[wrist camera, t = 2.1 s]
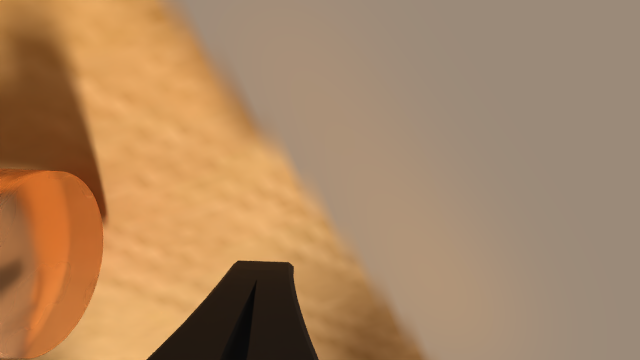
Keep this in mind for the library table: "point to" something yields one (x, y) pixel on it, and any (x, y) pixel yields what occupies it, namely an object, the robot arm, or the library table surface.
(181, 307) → the library table surface
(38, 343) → the shaft
